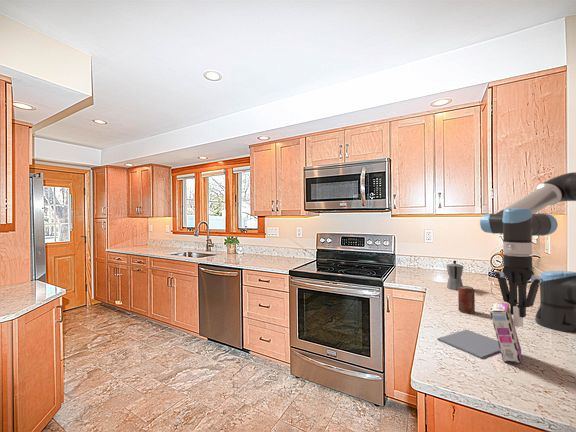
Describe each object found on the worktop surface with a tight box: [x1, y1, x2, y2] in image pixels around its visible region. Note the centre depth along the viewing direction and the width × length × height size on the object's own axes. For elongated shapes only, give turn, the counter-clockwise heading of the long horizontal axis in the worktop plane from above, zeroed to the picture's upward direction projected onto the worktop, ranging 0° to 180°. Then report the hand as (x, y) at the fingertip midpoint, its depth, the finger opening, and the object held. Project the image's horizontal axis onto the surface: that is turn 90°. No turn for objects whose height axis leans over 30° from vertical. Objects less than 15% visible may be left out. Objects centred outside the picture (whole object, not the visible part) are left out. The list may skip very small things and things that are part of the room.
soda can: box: [457, 285, 476, 315], centre depth 143 cm, size 7×7×12 cm
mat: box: [436, 329, 501, 359], centre depth 108 cm, size 18×16×1 cm
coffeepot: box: [446, 260, 464, 291], centre depth 185 cm, size 15×9×18 cm, turn 153°
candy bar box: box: [489, 302, 522, 364], centre depth 98 cm, size 11×5×16 cm, turn 140°
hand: (518, 325), depth 96 cm, fingers closed
